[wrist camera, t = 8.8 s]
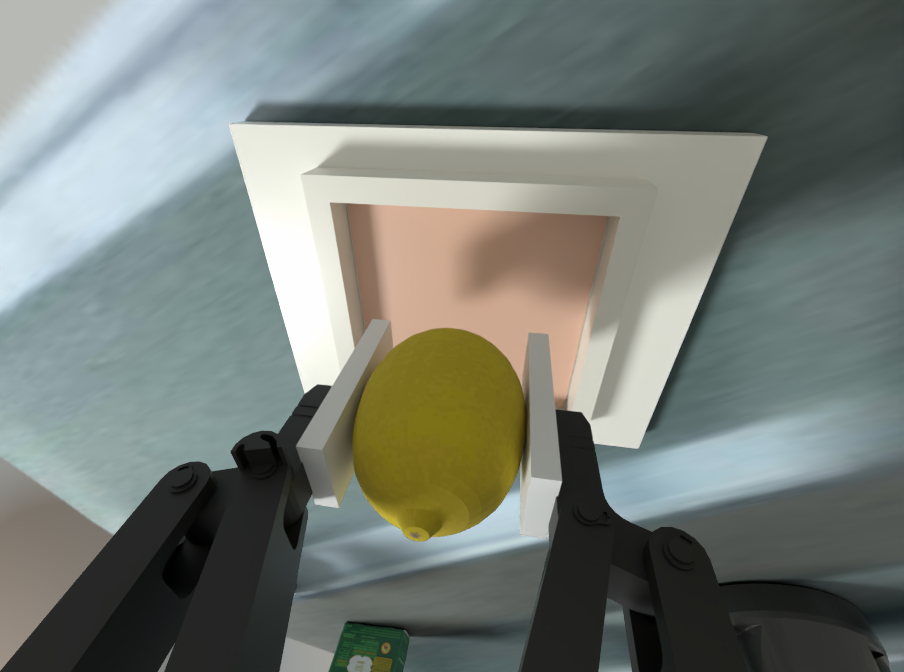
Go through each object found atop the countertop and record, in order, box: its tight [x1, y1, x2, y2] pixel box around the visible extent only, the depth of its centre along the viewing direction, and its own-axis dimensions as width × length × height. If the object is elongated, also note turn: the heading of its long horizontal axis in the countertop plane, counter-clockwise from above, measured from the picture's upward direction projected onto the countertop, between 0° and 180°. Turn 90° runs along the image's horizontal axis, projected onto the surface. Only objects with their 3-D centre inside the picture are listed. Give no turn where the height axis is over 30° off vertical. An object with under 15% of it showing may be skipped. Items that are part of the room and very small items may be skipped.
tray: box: [229, 121, 768, 449], centre depth 19 cm, size 20×16×2 cm
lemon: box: [352, 328, 527, 541], centre depth 13 cm, size 6×6×8 cm
